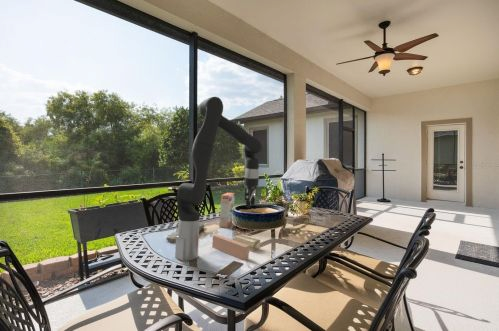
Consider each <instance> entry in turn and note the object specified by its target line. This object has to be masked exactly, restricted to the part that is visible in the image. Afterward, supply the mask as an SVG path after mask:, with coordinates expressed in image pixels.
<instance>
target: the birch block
mask: <svg viewBox="0 0 499 331" xmlns="http://www.w3.org/2000/svg"><path fill="white" fill-rule="evenodd" d="M234 236H235V238H234V240H235V241H237V242H240V243H243V244H246V245H249V252H251V253H252V252H255V251H258V250H260V249H261V239H259V238H256V237H253V236H251V235H250V236H249V235H247V234H238V235H234Z"/></svg>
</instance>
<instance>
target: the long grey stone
mask: <svg viewBox="0 0 499 331" xmlns="http://www.w3.org/2000/svg"><path fill="white" fill-rule="evenodd" d="M204 227H205V224H204V223H203V222H200V223H199V232H201V231H202V230H203V229H204ZM176 236H178V230H176V231H175V232H172V233H170V234H169V235H168V234H167V237H166V239H165V240H166V241H167V243H171V244H176Z"/></svg>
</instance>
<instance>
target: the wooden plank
mask: <svg viewBox="0 0 499 331" xmlns="http://www.w3.org/2000/svg"><path fill="white" fill-rule="evenodd" d="M243 265H244V263H243V262H240V261H236V260H232V261H231V262H230V263H228V264H227V265H225V266H224V267H222V269H219V270H218V271H217V272H215V273H214V274H213V276H214V275H217V274H221V275H229V274H230V275H232V274H233V273H234V272H235V271H237V270H238V269H239V268H241V266H243ZM233 271H234V272H233ZM232 272H233V273H232ZM230 275H229V276H230Z"/></svg>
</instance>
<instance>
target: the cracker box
mask: <svg viewBox="0 0 499 331" xmlns="http://www.w3.org/2000/svg"><path fill="white" fill-rule="evenodd" d="M235 196H236V193H235V192H226V193H223V194H221V198H220V208H219V209H220V213H219V225H218V226H219V228H226V229H228V228H229V227H230V226H231V225H232V224H233V223H232V215H231V210H232V208H233V207H234V208H235Z"/></svg>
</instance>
